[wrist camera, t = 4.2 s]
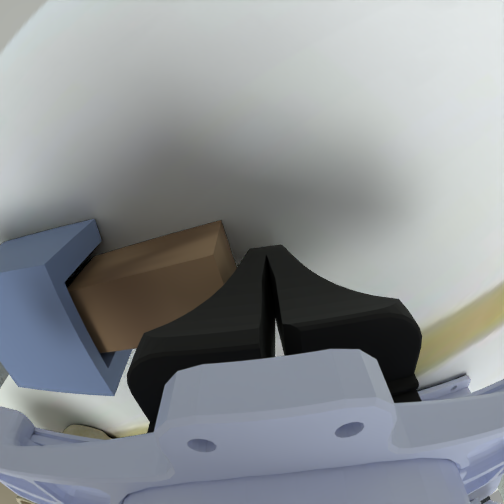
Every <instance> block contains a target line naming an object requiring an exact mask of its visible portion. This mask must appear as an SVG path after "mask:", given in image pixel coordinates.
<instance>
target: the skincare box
mask: <svg viewBox="0 0 504 504" xmlns="http://www.w3.org/2000/svg"><path fill="white" fill-rule="evenodd" d="M498 489H499V492H500V495H501V497H502V500H503V503H504V474H503V475H502V478H501V481H500V483H499V485H498Z"/></svg>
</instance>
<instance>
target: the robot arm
mask: <svg viewBox="0 0 504 504" xmlns="http://www.w3.org/2000/svg"><path fill="white" fill-rule="evenodd" d="M275 318H276V323H277V327H278V331H279V335H280V339H281V343H282V347H283V351H284V355H285V356H280V357H275ZM421 342H422V335H421V331H420V328H419V326H418V324H417V323H416V321H415V320H414V318H413V317H412V315H411V314H410V312H409V311H408V309H407V308H406V307H405V306H404V305H403V304H402V302H401V301H400V300H399V299H395V298H387V297H380V296H373V295H369V294H364V293H360V292H356V291H353V290H350V289H347V288H344V287H342V286H339V285H336V284H334V283H332V282H330V281H328V280H326V279H324V278H322V277H320V276H318V275H317V274H315V273H314V272H312V271H311V270H309V269H308V268H307V267H305V266H304V265H303V264H302V263H300V262H299V261H298V260H297V259H296V258H295V257H294V256H293V255H292V254H291V253H290V252H289V251H288V250H287V249H286V248H285V247H284V246H283V245H275V246H268V247H261V248H253V249H250V250H249V251H248V252H247V254H246V255H245V257H244V259H243V260H242V262H241V263H240V265H239V266H238V268H237V269H236V270H235V272H234V273H233V274H232V276H231V277H230V278H229V279H228V280H227V282H226V283H225V284H224V285H223V286H222V287H221V288H220V289H219V290H218V291H217V292H216V293H215V294H213V295H212V296H211V297H210V298H209V299H207V300H206V301H205V302H203V303H202V304H200V305H199V306H198V307H196V308H195V309H193V310H192V311H190V312H188V313H187V314H185V315H183V316H181V317H180V318H178V319H176V320H174V321H172V322H170V323H168V324H165V325H163V326H160V327H158V328H155V329H153V330H150V331H148V332H145V333H144V334H143V336H142V338H141V340H140V342H139V344H138V346H137V349H136V352H135V354H134V357H133V360H132V362H131V365H130V368H129V371H128V373H127V384H128V386H129V389H130V391H131V393H132V395H133V396H134V398H135V400H136V401H137V403H138V404H139V406H140V408H141V409H142V411H143V412H144V414H145V415H146V417H147V418H148V420H149V421H150V424H149V428H148V432H147V433H146V434H141V435H135V436H129V437H122V438H116V439H109V440H102V439H95V438H88V437H81V436H75V435H70V434H64V433H59V432H54V431H49V430H45V429H40V428H36V427H35V426H34V425H33V423H32V422H31V421H30V420H29V419H28V418H27V417H26V416H25V415H24V414H23V413H21V412H19V411H17V410H13V409H9V408H5V407H0V482H1V483H3V484H4V485H5V486H7V487H8V488H9V489H10V490H12V491H13V492H15V493H16V494H18V495H19V496H21V497H23V498H25V499H27V500H30V501H32V502H34V503H37V504H481V502H480V501H481V500H483V499H485V498H486V497H488V496H489V495H491V494H492V493H493V492H494V491H495V490H496V489H497V487H498V485H499V483H500V481H501V478H502V475H503V474H504V379H503V380H501V381H499V382H496V383H494V384H492V385H490V386H487V387H485V388H483V389H480V390H478V391H475V392H473V393H471V392H470V390H469V388H468V385H469V383H470V380H471V379H470V378H469V376H467V375H466V376H463V377H460V378H457V379H455V380H452V381H449V382H446V383H443V384H440V385H437V386H434V387H431V388H428V389H424V390H421V391H418V392H417V390H416V389H418V387H419V383H418V380H417V378H416V376H415V374H414V372H415V368H416V364H417V361H418V357H419V353H420V349H421ZM483 504H502V503H500V502H495V501H494V502H493V500H488V501H487V502H485V503H483Z"/></svg>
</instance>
